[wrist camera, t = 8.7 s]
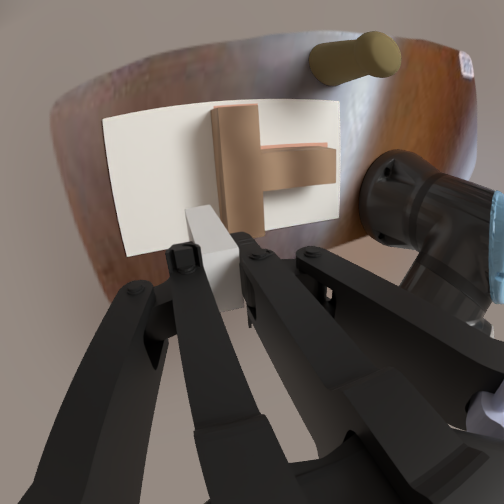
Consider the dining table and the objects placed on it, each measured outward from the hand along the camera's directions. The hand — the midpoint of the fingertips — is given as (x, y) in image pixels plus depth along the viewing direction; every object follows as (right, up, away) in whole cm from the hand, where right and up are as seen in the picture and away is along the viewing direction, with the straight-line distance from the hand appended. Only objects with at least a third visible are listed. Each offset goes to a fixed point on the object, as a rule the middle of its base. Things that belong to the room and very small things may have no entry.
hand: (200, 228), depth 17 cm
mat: (+1, +8, +16) cm, 17 cm away
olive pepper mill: (+13, +22, +13) cm, 29 cm away
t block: (+4, +9, +16) cm, 19 cm away
